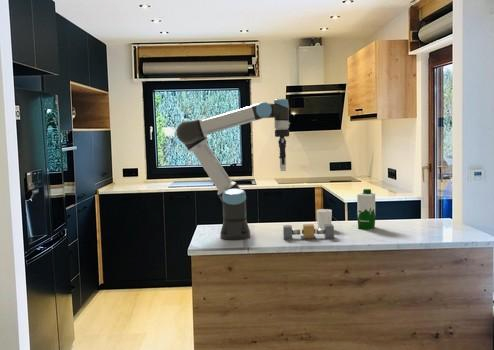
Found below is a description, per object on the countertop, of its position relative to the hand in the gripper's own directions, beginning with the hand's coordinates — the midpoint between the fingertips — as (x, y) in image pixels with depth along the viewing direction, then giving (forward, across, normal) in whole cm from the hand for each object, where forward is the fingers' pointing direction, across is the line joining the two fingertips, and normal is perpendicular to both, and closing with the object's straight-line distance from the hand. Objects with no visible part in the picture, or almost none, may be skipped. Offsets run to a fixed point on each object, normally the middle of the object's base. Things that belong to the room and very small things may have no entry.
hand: (282, 169), depth 253 cm
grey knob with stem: (+32, -21, -19) cm, 43 cm away
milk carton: (+32, -1, -43) cm, 54 cm away
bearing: (+32, -21, -3) cm, 38 cm away
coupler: (+31, -21, -11) cm, 39 cm away
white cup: (+32, -2, -21) cm, 38 cm away
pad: (+32, -21, -11) cm, 40 cm away
